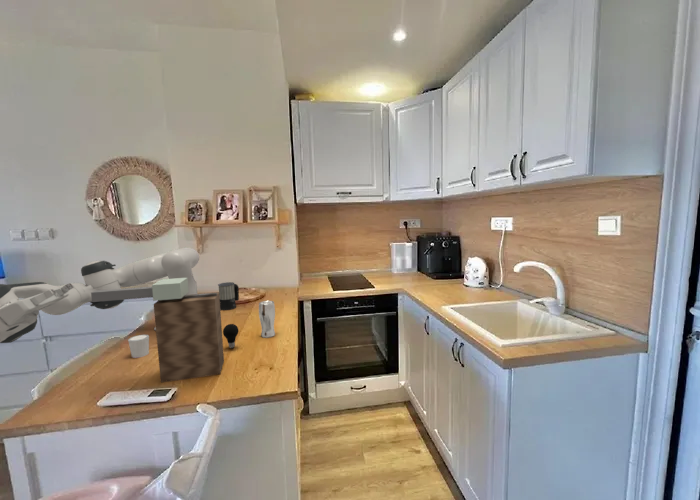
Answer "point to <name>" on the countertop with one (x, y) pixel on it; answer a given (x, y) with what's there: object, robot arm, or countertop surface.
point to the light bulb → (230, 334)
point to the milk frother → (228, 295)
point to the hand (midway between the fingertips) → (62, 288)
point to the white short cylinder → (139, 345)
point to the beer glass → (267, 318)
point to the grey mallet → (146, 291)
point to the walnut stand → (189, 336)
